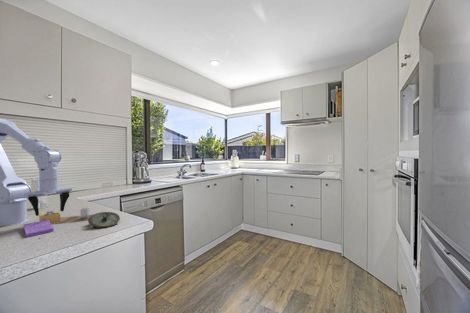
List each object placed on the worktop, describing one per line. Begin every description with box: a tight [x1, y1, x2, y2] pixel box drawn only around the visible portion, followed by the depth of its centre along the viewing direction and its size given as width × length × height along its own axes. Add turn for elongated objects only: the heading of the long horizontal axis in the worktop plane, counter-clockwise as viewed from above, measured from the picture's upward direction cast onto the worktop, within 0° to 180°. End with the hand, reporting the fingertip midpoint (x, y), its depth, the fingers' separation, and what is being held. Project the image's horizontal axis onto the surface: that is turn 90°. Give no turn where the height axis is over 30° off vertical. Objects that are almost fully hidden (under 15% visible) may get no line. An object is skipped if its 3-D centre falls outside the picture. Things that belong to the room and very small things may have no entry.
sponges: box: [23, 219, 55, 238], centre depth 75 cm, size 7×13×2 cm, turn 48°
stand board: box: [45, 207, 95, 226], centre depth 88 cm, size 19×10×5 cm, turn 110°
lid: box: [87, 211, 121, 229], centre depth 82 cm, size 11×10×5 cm
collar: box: [38, 211, 61, 223], centre depth 85 cm, size 6×6×3 cm
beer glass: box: [30, 178, 49, 210], centre depth 112 cm, size 7×7×15 cm
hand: (50, 213), depth 85 cm, fingers open, 7 cm apart
